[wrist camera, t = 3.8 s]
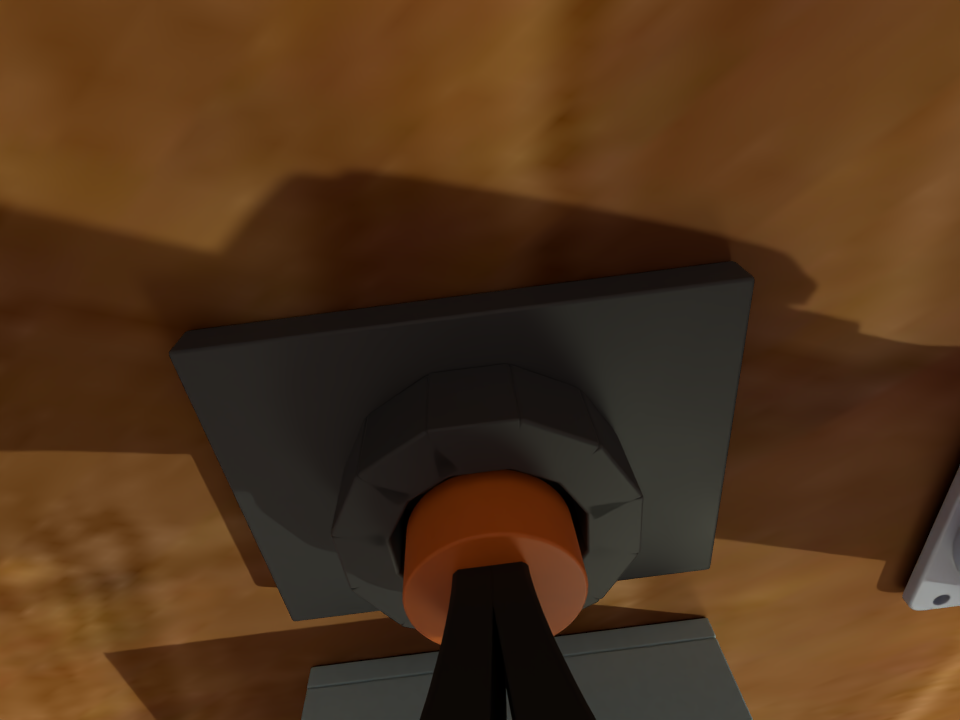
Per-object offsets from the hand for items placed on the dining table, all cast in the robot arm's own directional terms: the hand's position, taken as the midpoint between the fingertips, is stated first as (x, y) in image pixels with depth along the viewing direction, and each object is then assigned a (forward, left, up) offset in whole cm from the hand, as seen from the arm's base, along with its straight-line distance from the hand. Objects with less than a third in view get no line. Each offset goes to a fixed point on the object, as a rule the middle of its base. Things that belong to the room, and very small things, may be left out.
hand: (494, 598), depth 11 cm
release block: (0, 0, -4) cm, 4 cm away
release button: (0, 0, -2) cm, 2 cm away
